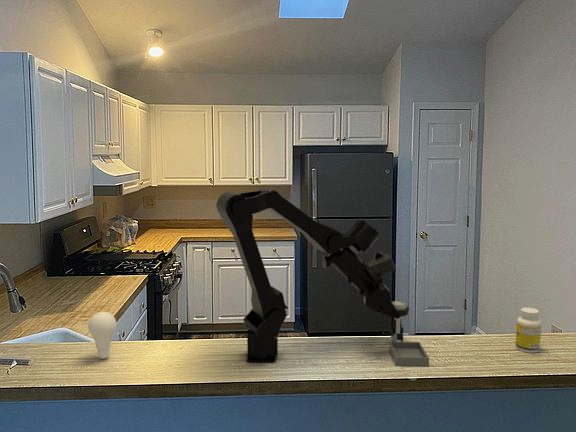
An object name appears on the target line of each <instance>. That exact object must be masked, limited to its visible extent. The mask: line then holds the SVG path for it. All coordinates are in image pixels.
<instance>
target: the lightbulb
mask: <svg viewBox="0 0 576 432" xmlns="http://www.w3.org/2000/svg"><path fill="white" fill-rule="evenodd" d="M87 324H88V325H87V329H88V332H89V333H90V335H91V336H92V338H93V341H94V343H95V348H96V350H97V357H98V358H99V359H102V360H106V359H107V358H108V357H110V355H111V354H110V348H111V346H112V345H111V343H112V338H113V336H114V334H115V331H116V329H117V320H116V318H115V316H114V315H113V314H112V313H111V312H110V313H109V312H108V311H99V312H97V313H94V314H93V315H92V316H91V317H90V319H89V320H88V323H87Z"/></svg>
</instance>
